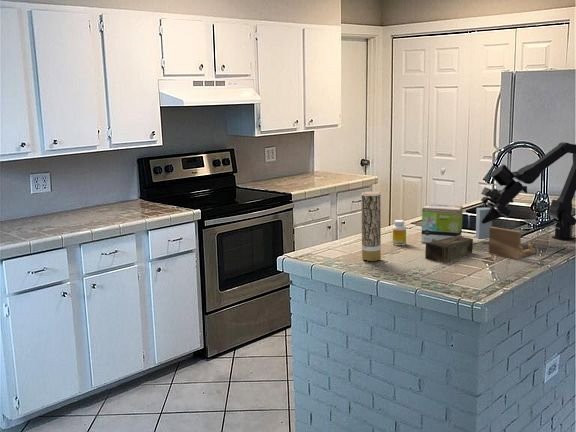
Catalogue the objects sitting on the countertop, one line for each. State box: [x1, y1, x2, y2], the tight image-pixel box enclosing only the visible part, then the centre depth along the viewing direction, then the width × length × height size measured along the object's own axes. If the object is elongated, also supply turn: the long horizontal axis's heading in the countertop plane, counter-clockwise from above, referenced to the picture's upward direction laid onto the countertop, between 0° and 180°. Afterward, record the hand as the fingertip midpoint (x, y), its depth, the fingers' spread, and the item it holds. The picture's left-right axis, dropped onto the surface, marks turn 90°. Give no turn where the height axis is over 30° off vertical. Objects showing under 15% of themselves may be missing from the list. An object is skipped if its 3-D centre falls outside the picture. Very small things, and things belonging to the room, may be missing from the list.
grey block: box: [475, 207, 493, 240], centre depth 246 cm, size 5×4×12 cm
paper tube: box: [361, 191, 382, 262], centre depth 224 cm, size 7×7×25 cm
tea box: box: [421, 203, 464, 243], centre depth 249 cm, size 15×10×15 cm
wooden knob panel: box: [488, 226, 537, 260], centre depth 228 cm, size 13×12×10 cm
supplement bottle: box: [392, 219, 407, 246], centre depth 247 cm, size 5×5×10 cm
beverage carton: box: [424, 235, 474, 263], centre depth 227 cm, size 8×19×7 cm, turn 128°
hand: (480, 221), depth 246 cm, fingers closed on grey block, 4 cm apart
